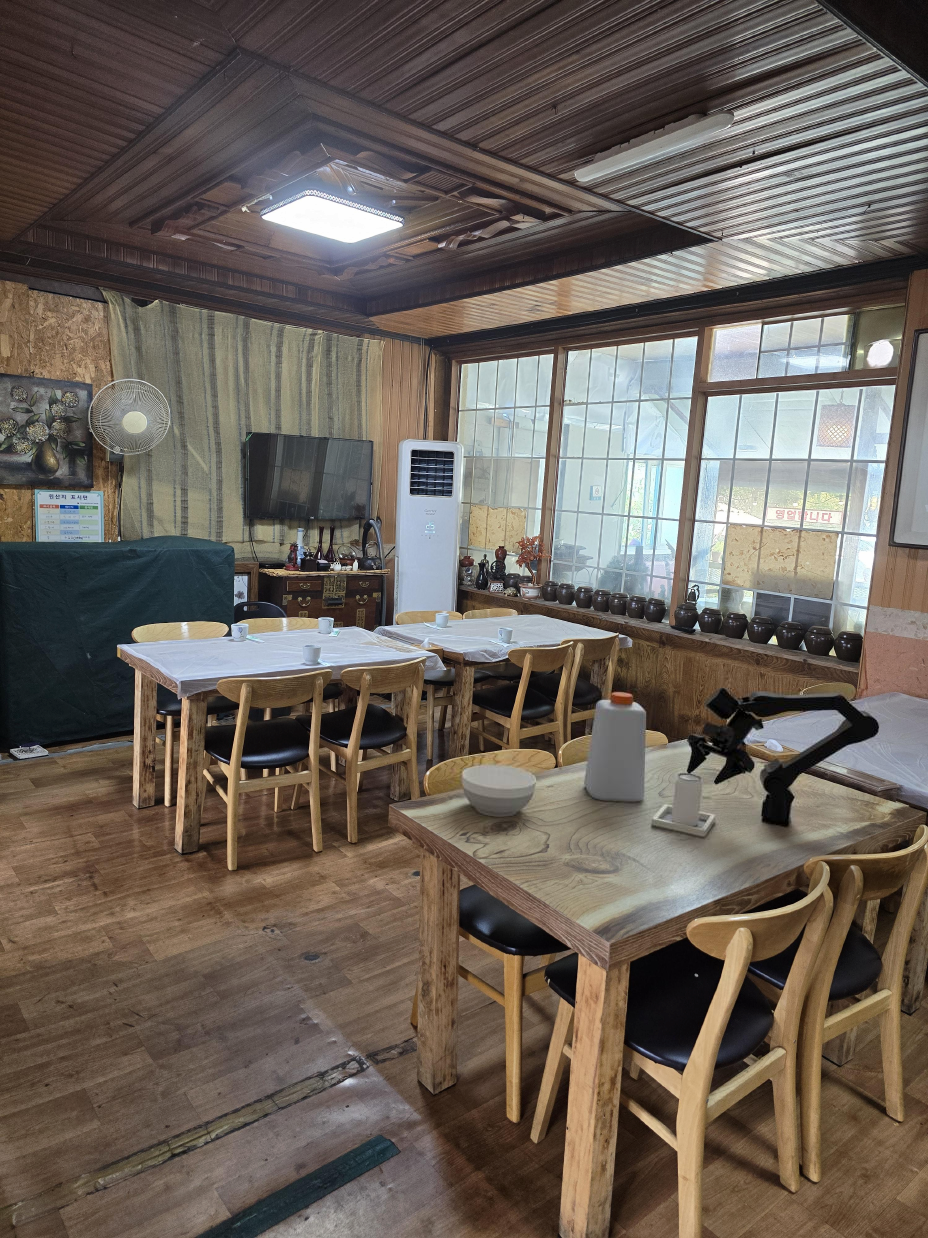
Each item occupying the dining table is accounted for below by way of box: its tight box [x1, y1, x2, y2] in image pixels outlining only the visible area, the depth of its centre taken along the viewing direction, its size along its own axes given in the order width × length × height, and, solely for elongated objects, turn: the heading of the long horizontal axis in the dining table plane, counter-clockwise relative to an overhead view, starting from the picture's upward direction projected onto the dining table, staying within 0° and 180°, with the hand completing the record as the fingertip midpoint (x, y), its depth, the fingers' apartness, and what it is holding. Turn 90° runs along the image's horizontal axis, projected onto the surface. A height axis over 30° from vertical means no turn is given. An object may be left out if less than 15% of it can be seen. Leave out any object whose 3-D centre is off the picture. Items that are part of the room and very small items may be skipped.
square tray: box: [650, 803, 716, 839], centre depth 211 cm, size 13×13×2 cm
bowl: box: [461, 764, 537, 818], centre depth 213 cm, size 19×19×9 cm
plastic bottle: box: [583, 691, 647, 803], centre depth 230 cm, size 15×15×28 cm
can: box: [672, 772, 703, 827], centre depth 211 cm, size 6×6×12 cm
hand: (701, 778), depth 212 cm, fingers open, 9 cm apart
